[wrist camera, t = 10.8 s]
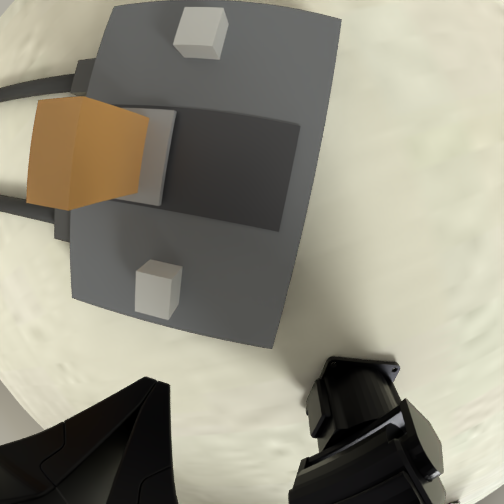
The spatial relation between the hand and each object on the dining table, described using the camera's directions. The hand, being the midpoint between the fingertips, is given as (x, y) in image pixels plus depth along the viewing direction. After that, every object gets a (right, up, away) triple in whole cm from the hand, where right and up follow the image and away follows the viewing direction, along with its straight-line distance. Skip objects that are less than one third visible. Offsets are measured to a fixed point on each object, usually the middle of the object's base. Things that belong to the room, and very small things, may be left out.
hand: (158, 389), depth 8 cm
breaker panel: (-1, +10, +9) cm, 14 cm away
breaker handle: (-4, +10, +6) cm, 12 cm away
